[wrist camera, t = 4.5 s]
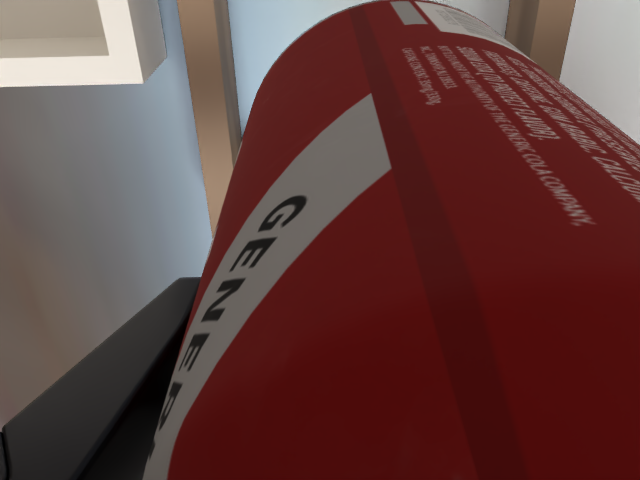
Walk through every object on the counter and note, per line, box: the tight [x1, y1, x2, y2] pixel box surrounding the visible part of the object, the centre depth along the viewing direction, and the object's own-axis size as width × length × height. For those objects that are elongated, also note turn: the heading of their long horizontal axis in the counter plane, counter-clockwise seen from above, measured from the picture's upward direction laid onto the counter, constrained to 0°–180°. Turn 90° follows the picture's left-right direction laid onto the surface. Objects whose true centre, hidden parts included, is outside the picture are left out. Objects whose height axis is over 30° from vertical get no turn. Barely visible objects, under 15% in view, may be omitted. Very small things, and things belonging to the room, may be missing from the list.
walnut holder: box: [177, 0, 576, 237], centre depth 18 cm, size 11×11×2 cm
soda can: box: [142, 0, 640, 480], centre depth 8 cm, size 7×7×12 cm
